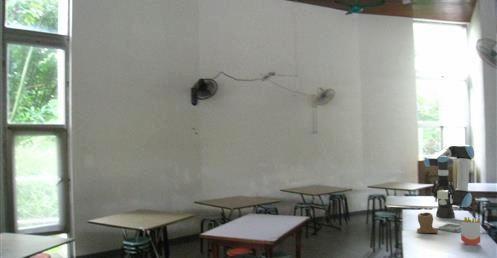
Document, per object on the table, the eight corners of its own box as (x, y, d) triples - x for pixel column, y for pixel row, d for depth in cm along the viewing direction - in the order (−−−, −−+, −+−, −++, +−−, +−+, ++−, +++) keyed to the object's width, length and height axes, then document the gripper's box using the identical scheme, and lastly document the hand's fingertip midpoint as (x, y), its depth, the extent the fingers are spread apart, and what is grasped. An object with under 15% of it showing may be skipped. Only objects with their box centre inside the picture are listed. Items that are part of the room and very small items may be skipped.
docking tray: (444, 226, 331) (444, 222, 331) (466, 228, 320) (466, 225, 320) (436, 229, 319) (436, 226, 319) (459, 232, 308) (458, 229, 308)
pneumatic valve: (450, 205, 327) (450, 190, 328) (434, 204, 333) (434, 189, 334) (451, 204, 332) (451, 189, 332) (435, 203, 338) (435, 188, 338)
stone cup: (417, 234, 306) (417, 213, 306) (416, 230, 317) (415, 211, 317) (440, 235, 301) (439, 214, 301) (437, 231, 312) (437, 211, 313)
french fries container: (461, 242, 281) (460, 216, 281) (479, 243, 277) (478, 216, 277) (462, 244, 276) (461, 217, 277) (480, 245, 273) (479, 218, 273)
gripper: (426, 174, 339) (426, 201, 338) (457, 176, 322) (457, 204, 321) (430, 174, 344) (430, 200, 343) (460, 175, 327) (461, 203, 327)
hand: (443, 202), depth 332 cm, fingers closed on pneumatic valve, 11 cm apart
